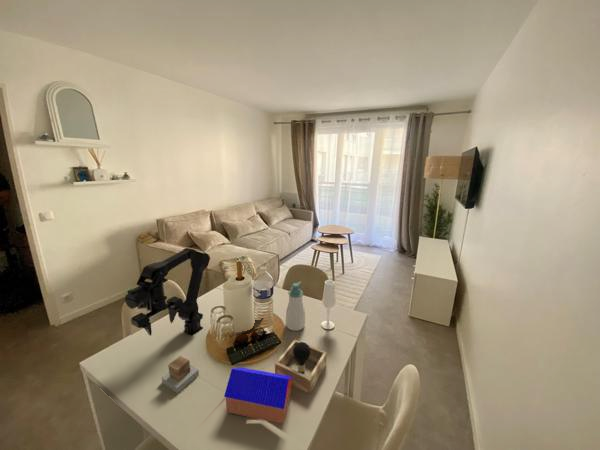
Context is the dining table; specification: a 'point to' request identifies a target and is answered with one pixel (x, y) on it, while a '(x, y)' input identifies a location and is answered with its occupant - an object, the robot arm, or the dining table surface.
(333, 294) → the champagne flute
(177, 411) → the dining table surface
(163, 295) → the robot arm
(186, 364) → the walnut cube
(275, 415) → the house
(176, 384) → the grey plinth
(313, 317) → the dining table surface
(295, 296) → the soap bottle
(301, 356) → the light bulb
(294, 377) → the oak bulb corral
